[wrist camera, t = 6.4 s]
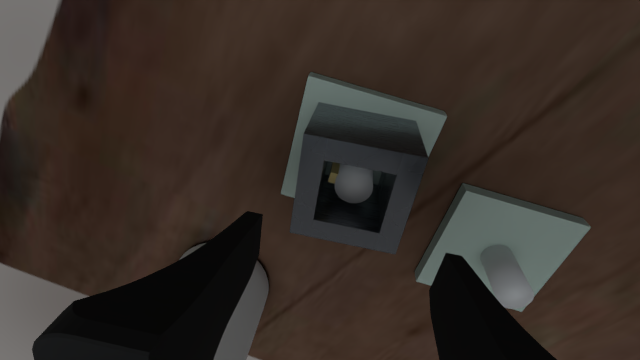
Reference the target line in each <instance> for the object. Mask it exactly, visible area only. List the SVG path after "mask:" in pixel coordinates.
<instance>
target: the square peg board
mask: <svg viewBox="0 0 640 360" xmlns="http://www.w3.org/2000/svg"><path fill="white" fill-rule="evenodd" d="M590 228H591V226H590V225H589V224H588V223H587V222H586V221H585V220H584V219H583V218H581V217H578V216H574V215H571V214H568V213H564V212H561V211H557V210H554V209H550V208H547V207H544V206H540V205H537V204H533V203H530V202H526V201H523V200H520V199H516V198H513V197H509V196H506V195H502V194H499V193H496V192H492V191H489V190H485V189H482V188H478V187H475V186H472V185H468V184H465V183H462V185H461V187H460V189H459V190H458V192H457V194H456V196H455V198H454V200H453V202H452V203H451V205H450V207H449V209H448V211H447V213H446V215H445V216H444V218H443V220H442V222H441V224H440V226H439V227H438V229H437V231H436V233H435V235H434V237H433V239H432V240H431V242H430V244H429V246H428V248H427V250H426V252H425V253H424V255H423V257H422V259H421V261H420V263H419V264H418V266H417V268H416V270H415V277H416V281H417V282H420V283H424V284H427V285H432V283H433V281H434V278H435V276H436V274H437V272H438V269H439V267H440V265H441V262H442V260H443V258H444V256H445V253H450V254H455V255H460V256H462V257H463V258H464V259H465V260H466V261H467V263H468V264H469V265H470V266H471V268H472V269H473V270H474V271H475V273H476V274H477V275H478V276H479V278H480V279H481V280H482V282H483V283H484V284H485V285H486V287H487V288H488V289H489V290H490V291H491V293H492V294H493V295H494V296H495V297H496V299H497V300H498V301H499V302H500V303H501V304H502V306H503V307H505V308H509V309H514V310H517V311H521V312H522V311H523V310H524V308H525V307H526V306H527V305H528V304H529V303H531V301H532V300H533V298H534V296H535V295H536V294H537V293H538V291H539V290H540V289H541V288H542V287H543V285H544V284H545V283H546V282H547V280H548V279H549V278H550V277H551V276H552V274H553V273H554V272H555V271H556V270H557V268H558V267H559V266H560V265H561V263H562V262H563V261H564V260H565V259H566V257H567V256H568V255H569V254H570V252H571V251H572V250H573V249H574V248H575V246H576V245H577V244H578V243H579V242H580V240H581V239H582V238H583V237H584V235H585V234H586V233H587V232H588V231H589V229H590Z"/></svg>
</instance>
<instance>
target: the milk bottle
mask: <svg viewBox="0 0 640 360" xmlns="http://www.w3.org/2000/svg"><path fill="white" fill-rule="evenodd" d="M204 244H206V243H203V244H199V245H197V246H195V247H193V248H191V249H189V250H188V251H186V252H185V253H184V254H183V256H182V257H181V258H180V259H182V258H184V257H186V256H187V255H189V254H190V253H192V252H194V251H195V250H197V249H198V248H200V247H201V246H203V245H204ZM180 259H179V260H180ZM268 292H269V284H268V278H267V275H266V272H265V270H264V269H263V267H262V265H261V264H260V263H259V262H258V260H257V262H256V264H255V267H254V270H253V273H252V276H251V278H250V280H249V282H248V284H247V286H246V288H245V290H244V292H243V294H242V296H241V298H240V300H239V302H238V304H237V306H236V308H235V310H234V312H233V314H232V316H231V318H230V320H229V322H228V324H227V327H226V329H225V331H224V333H223V336H222V338H221V341H220V343H219V346H218V349H217V351H216V354H215V357H214V359H213V360H246V358H247V355H248V353H249V350H250V347H251V344H252V341H253V338H254V335H255V332H256V329H257V326H258V323H259V320H260V317H261V314H262V312H263V309H264V306H265V302H266V299H267V296H268Z"/></svg>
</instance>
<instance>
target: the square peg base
mask: <svg viewBox="0 0 640 360" xmlns="http://www.w3.org/2000/svg"><path fill="white" fill-rule="evenodd" d="M318 102H321V103H326V104H331V105H336V106H342V107H347V108H352V109H357V110H362V111H367V112H373V113H378V114H383V115H388V116H393V117H399V118H404V119H409V120H414V121H416V122H417V125H418V128H419V131H420V134H421V137H422V140H423V143H424V146H425V149H426V152H427V155H428V157H429V155H430V153H431V151H432V148H433V146H434V144H435V142H436V140H437V138H438V135H439V133H440V131H441V129H442V127H443V125H444V122H445V120H446V118H447V115H446V113H445V112H444V111H442V110H439V109H436V108H432V107H429V106H425V105H422V104H419V103H415V102H412V101H408V100H405V99H402V98H398V97H395V96H391V95H388V94H385V93H381V92H378V91H374V90H371V89H368V88H364V87H361V86H357V85H354V84H350V83H347V82H344V81H340V80H337V79H333V78H330V77H327V76H323V75H320V74H316V73H313V72H311V73H310V74H309V75H308V79H307V84H306V88H305V92H304V96H303V101H302V105H301V109H300V113H299V118H298V122H297V126H296V131H295V135H294V139H293V143H292V148H291V152H290V156H289V160H288V165H287V169H286V173H285V177H284V182H283V186H282V190H281V194H283V195H286V196H290V197H293V198H295V191H296V184H297V177H298V170H299V163H300V155H301V148H302V141H303V134H304V132H305V130H306V128H307V125H308V123H309V121H310V119H311V117H312V115H313V113H314V111H315V109H316V107H317V105H318ZM325 174H326V175H329V179H328V182H330V183H334V184H335V191H336V193H337V195H338V196H339V197H340V198H341V199H342V200H344V201H346V202H349V203H360V202H363V201H365V200H366V199H368V198H369V197H370V195H371V193H372V191H373V184H376V185H378V183H379V180H380V176H381V172H380V171H375V170H370V169H365V168H360V167H355V166H350V165H345V164H340V163H335V162H330V161H327V166H326V171H325Z"/></svg>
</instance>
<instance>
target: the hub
mask: <svg viewBox="0 0 640 360" xmlns="http://www.w3.org/2000/svg"><path fill="white" fill-rule="evenodd" d="M327 161H330V162H335V163H340V164H345V165H350V166H355V167H360V168H365V169H370V170H375V171H380V172H381V176H380V180H379V183H378V185H376V184H373V191H372V193H371V195H370V197H369V198H368V199H366V200H365V201H363V202H360V203H349V202H346V201H344V200H342V199H341V198H340V197H339V196H338V195H337V193H336V191H335V184H334V183H330V182H328V179H329V175H326V174H325V171H326V166H327ZM427 161H428V155H427V152H426V149H425V146H424V143H423V140H422V137H421V134H420V131H419V128H418V125H417V122H416V121H414V120H409V119H404V118H399V117H393V116H388V115H383V114H378V113H373V112H367V111H362V110H357V109H352V108H347V107H342V106H336V105H331V104H326V103H321V102H318V105H317V107H316V109H315V111H314V113H313V115H312V117H311V119H310V121H309V123H308V125H307V128H306V130H305V132H304V134H303V141H302V148H301V155H300V163H299V170H298V177H297V184H296V191H295V198H294V205H293V212H292V219H291V227H290V233H295V234H300V235H305V236H310V237H314V238H319V239H324V240H329V241H334V242H338V243H343V244H348V245H353V246H358V247H362V248H367V249H372V250H377V251H382V252H386V253H391V254H396V251H397V248H398V245H399V242H400V239H401V237H402V234H403V231H404V228H405V225H406V222H407V219H408V216H409V213H410V210H411V208H412V205H413V202H414V199H415V196H416V193H417V190H418V187H419V184H420V181H421V179H422V176H423V173H424V170H425V167H426V164H427Z"/></svg>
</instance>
